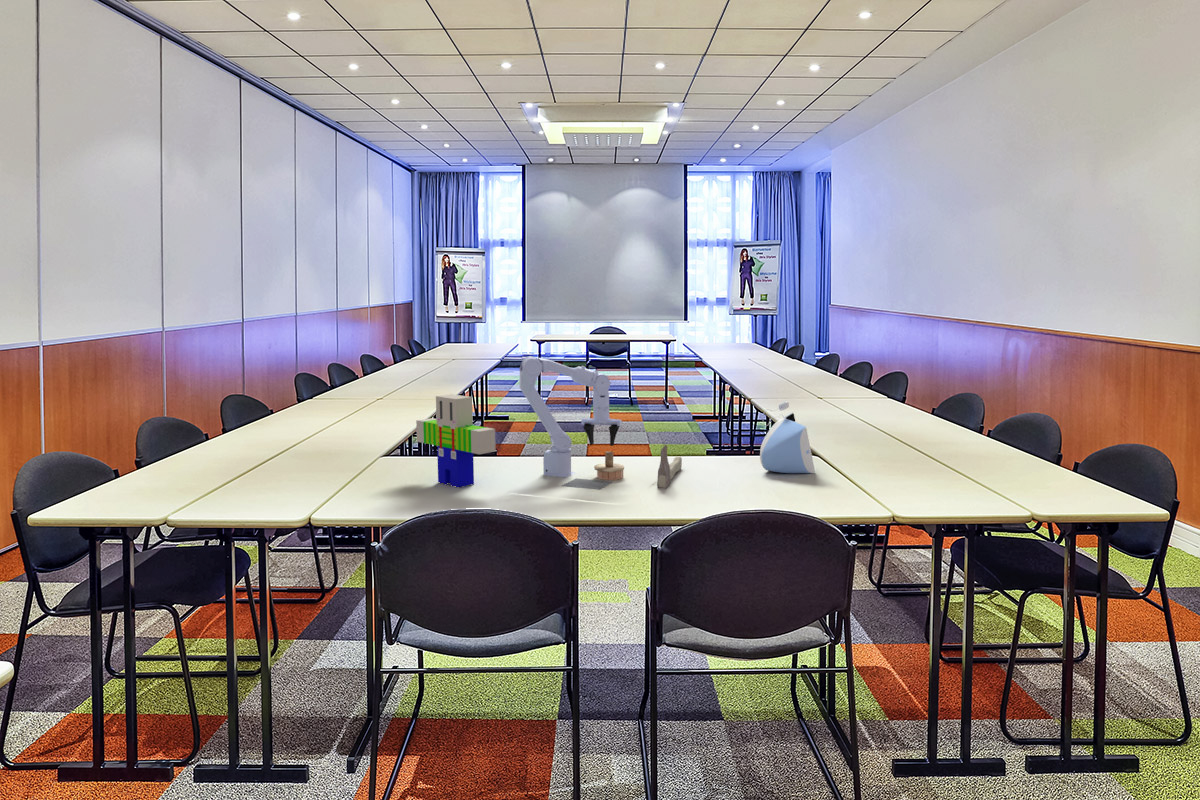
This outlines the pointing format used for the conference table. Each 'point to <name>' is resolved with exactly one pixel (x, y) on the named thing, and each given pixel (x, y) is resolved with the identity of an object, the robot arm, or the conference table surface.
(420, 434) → the toy
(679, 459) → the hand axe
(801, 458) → the retro desktop computer
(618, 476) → the bowl
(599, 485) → the mat
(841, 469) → the conference table surface
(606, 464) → the lid
